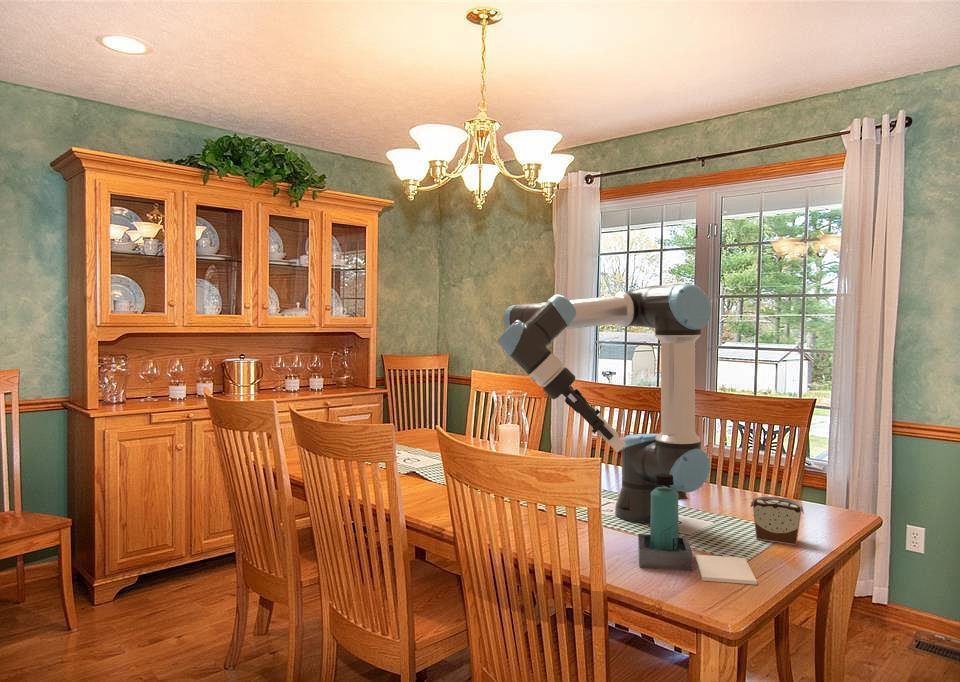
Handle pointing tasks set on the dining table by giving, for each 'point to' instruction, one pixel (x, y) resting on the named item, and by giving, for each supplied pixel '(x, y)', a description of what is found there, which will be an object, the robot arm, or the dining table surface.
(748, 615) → the dining table surface
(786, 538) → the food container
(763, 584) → the dining table surface
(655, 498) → the beverage bottle
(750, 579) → the coaster pad
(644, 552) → the bottle holder
